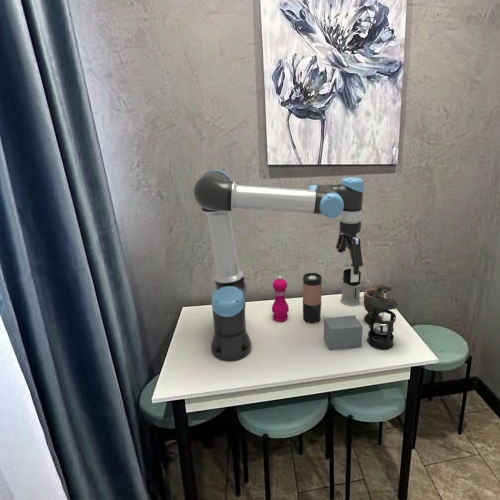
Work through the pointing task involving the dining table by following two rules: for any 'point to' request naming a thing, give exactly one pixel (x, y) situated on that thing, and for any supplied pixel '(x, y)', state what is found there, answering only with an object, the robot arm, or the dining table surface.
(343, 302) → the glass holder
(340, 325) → the grey rectangular block
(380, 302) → the french press
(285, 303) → the pepper mill
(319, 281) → the travel mug
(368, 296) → the mortar and pestle
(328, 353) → the dining table surface
